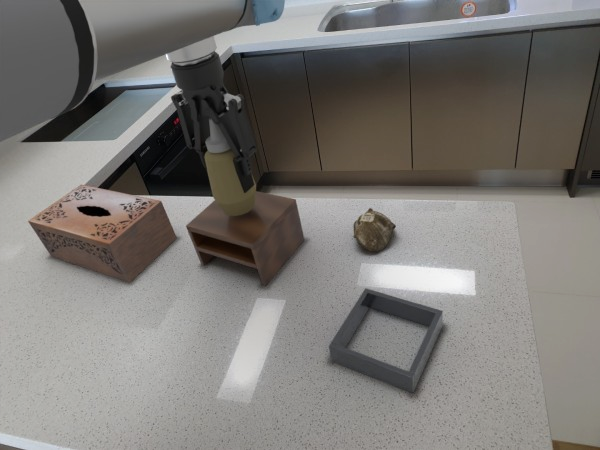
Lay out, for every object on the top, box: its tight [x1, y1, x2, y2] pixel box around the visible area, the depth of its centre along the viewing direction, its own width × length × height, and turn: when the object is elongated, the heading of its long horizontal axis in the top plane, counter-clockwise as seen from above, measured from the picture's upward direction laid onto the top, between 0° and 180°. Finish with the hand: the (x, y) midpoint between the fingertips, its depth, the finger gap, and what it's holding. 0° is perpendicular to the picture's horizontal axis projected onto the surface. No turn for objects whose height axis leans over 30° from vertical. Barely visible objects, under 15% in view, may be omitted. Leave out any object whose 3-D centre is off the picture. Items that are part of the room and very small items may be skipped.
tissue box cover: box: [27, 184, 178, 283], centre depth 99 cm, size 26×14×10 cm, turn 61°
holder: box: [328, 287, 444, 394], centre depth 68 cm, size 13×13×4 cm
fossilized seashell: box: [352, 207, 397, 252], centre depth 88 cm, size 8×7×10 cm
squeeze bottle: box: [204, 117, 257, 216], centre depth 80 cm, size 8×8×18 cm
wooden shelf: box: [185, 190, 305, 287], centre depth 89 cm, size 14×16×10 cm
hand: (232, 185), depth 83 cm, fingers closed on squeeze bottle, 6 cm apart
